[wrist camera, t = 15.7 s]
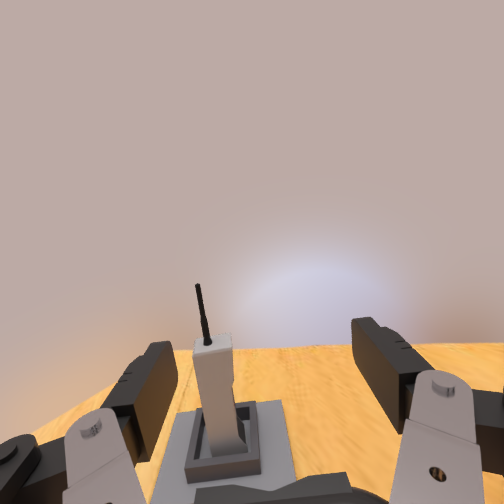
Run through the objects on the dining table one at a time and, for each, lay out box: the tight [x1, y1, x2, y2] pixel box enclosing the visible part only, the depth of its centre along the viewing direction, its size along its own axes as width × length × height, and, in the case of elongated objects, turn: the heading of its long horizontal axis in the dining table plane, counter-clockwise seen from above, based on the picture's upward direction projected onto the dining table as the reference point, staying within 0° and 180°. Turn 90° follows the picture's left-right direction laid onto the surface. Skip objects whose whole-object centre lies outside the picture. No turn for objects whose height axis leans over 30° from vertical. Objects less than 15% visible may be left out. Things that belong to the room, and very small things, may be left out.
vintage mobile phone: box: [192, 283, 248, 457], centre depth 35 cm, size 4×5×25 cm
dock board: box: [150, 400, 296, 504], centre depth 38 cm, size 18×14×4 cm
